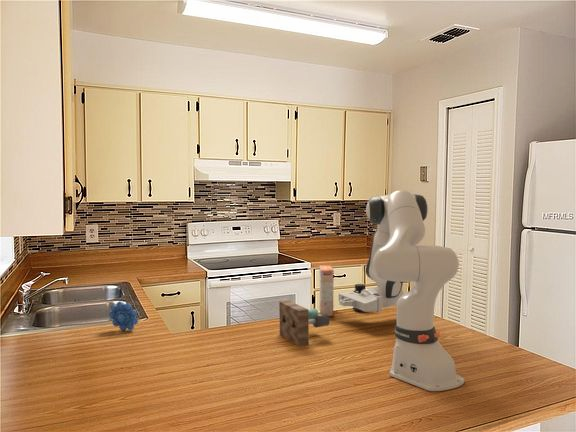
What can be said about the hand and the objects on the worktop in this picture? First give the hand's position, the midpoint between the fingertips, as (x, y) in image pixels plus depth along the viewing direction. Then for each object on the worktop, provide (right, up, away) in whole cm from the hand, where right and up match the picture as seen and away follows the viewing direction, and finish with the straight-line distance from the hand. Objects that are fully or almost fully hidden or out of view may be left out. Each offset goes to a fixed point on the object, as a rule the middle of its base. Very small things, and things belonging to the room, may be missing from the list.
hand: (341, 303), depth 192 cm
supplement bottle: (+12, -8, +27) cm, 31 cm away
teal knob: (-17, -6, -8) cm, 19 cm away
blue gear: (-88, -11, -2) cm, 89 cm away
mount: (-20, -11, -14) cm, 27 cm away
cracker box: (-4, -9, +24) cm, 26 cm away
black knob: (-13, -6, -15) cm, 21 cm away
